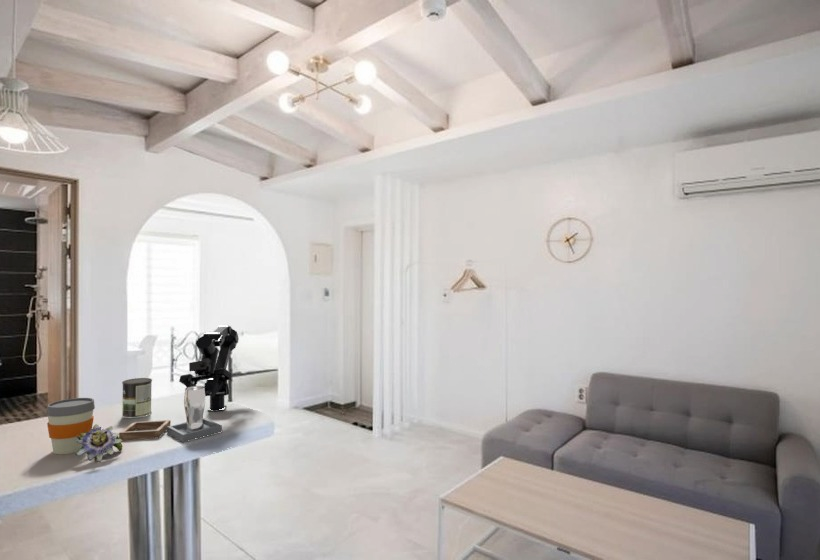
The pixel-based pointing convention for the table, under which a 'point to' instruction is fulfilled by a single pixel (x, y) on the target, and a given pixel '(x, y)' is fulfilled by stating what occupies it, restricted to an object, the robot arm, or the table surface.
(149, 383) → the coffee can
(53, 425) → the reusable coffee cup
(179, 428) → the coaster tray
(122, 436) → the walnut collar
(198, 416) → the shiny silver hollow cylinder
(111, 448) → the passion flower
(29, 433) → the table surface
